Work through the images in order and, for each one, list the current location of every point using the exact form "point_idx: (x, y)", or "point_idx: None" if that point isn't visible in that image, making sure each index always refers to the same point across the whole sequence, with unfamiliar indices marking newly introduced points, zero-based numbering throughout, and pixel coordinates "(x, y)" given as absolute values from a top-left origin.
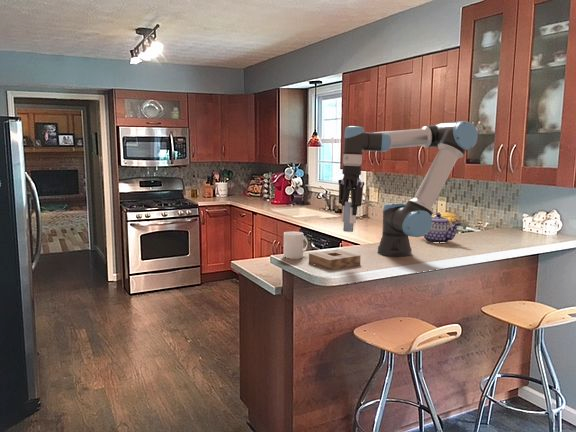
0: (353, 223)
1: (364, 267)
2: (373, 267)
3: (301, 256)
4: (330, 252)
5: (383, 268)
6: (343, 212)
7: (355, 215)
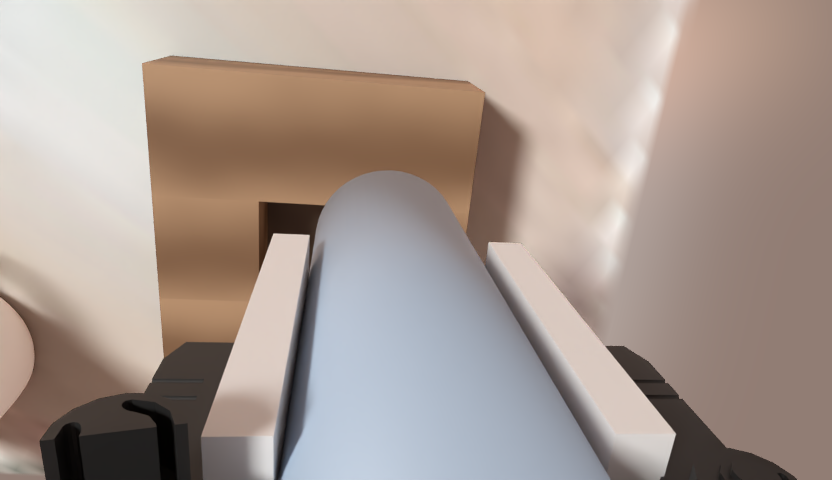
0: (469, 241)
1: (541, 113)
2: (588, 52)
3: (19, 325)
4: (230, 234)
5: (662, 8)
6: None
7: (567, 319)
